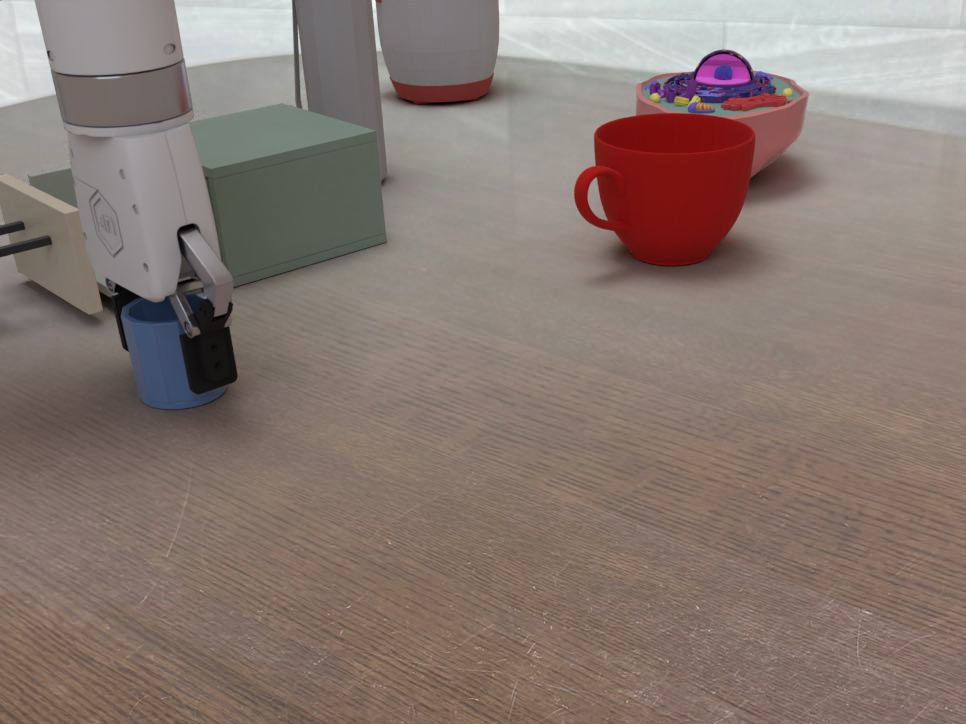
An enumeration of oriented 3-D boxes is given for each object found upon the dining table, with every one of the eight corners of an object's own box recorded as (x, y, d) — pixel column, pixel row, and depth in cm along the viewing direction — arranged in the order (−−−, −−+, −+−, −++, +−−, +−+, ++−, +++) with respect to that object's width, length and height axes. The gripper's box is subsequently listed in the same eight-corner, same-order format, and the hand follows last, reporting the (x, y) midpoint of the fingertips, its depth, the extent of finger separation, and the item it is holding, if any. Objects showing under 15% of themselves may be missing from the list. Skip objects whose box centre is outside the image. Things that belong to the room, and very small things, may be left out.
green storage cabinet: (231, 288, 97) (211, 168, 92) (146, 246, 106) (123, 135, 101) (386, 242, 106) (376, 130, 101) (296, 207, 115) (282, 103, 110)
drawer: (16, 336, 87) (-13, 231, 83) (-52, 289, 96) (-81, 192, 92) (256, 267, 99) (241, 171, 95) (176, 230, 107) (160, 141, 103)
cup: (165, 418, 78) (147, 331, 75) (125, 390, 81) (106, 307, 78) (242, 390, 81) (228, 306, 78) (200, 365, 85) (185, 284, 81)
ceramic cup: (526, 263, 101) (523, 141, 95) (669, 218, 110) (673, 105, 104) (634, 305, 92) (636, 174, 87) (779, 253, 101) (790, 131, 96)
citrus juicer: (364, 86, 159) (347, -84, 148) (494, 78, 161) (487, -90, 150) (372, 114, 146) (354, -70, 135) (513, 105, 148) (507, -77, 137)
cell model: (609, 199, 115) (610, 75, 109) (654, 145, 131) (658, 34, 125) (787, 211, 111) (799, 83, 105) (812, 154, 127) (823, 40, 121)
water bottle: (403, 175, 123) (380, -100, 110) (363, 196, 117) (333, -91, 104) (328, 166, 127) (296, -101, 113) (285, 187, 121) (246, -93, 107)
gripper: (4, 85, 74) (69, 345, 84) (133, 133, 63) (193, 426, 73) (117, 66, 78) (168, 315, 88) (257, 108, 67) (298, 388, 77)
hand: (179, 365), depth 80 cm, fingers open, 8 cm apart
